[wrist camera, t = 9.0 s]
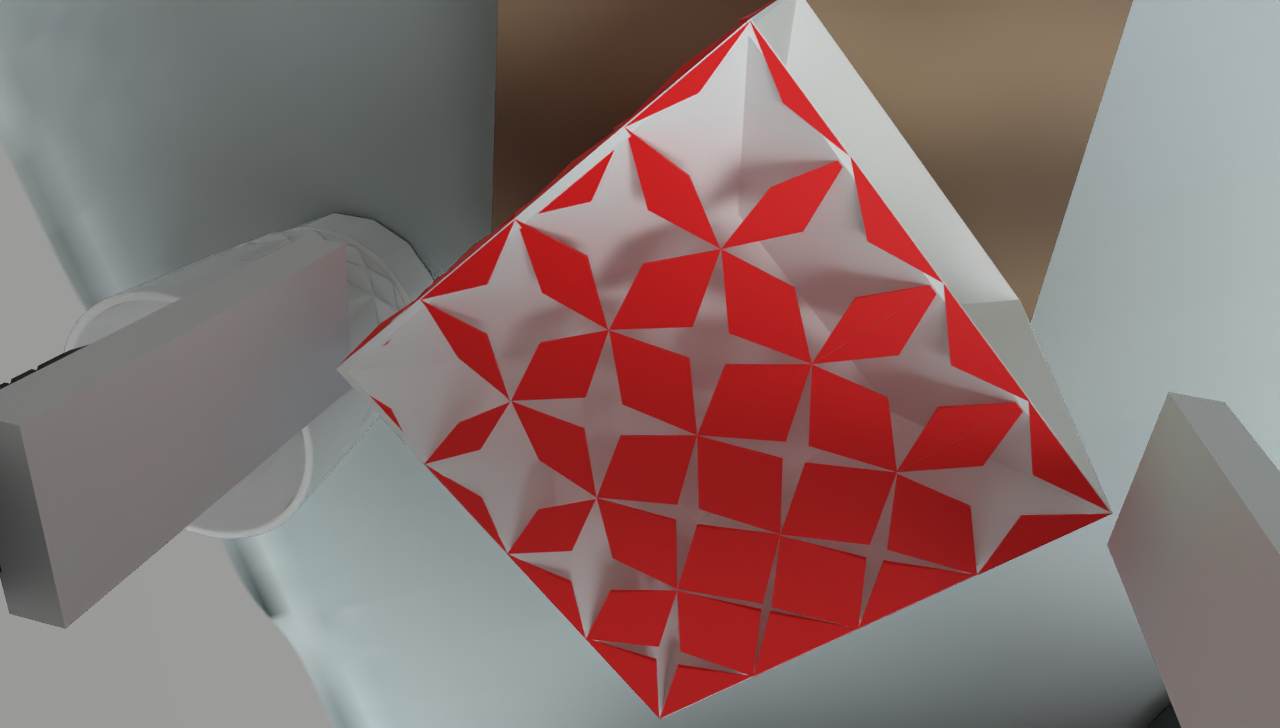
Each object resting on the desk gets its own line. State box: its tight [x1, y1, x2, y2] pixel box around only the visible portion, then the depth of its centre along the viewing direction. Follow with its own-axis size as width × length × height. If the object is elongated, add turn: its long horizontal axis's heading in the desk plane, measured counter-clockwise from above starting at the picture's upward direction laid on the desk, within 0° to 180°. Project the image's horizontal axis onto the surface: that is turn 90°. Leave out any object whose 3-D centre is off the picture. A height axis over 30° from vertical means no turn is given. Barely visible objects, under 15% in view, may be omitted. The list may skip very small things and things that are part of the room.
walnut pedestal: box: [492, 0, 1133, 322], centre depth 24 cm, size 12×12×10 cm
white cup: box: [64, 213, 433, 538], centre depth 30 cm, size 8×8×10 cm
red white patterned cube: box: [336, 0, 1112, 719], centre depth 16 cm, size 8×8×8 cm
